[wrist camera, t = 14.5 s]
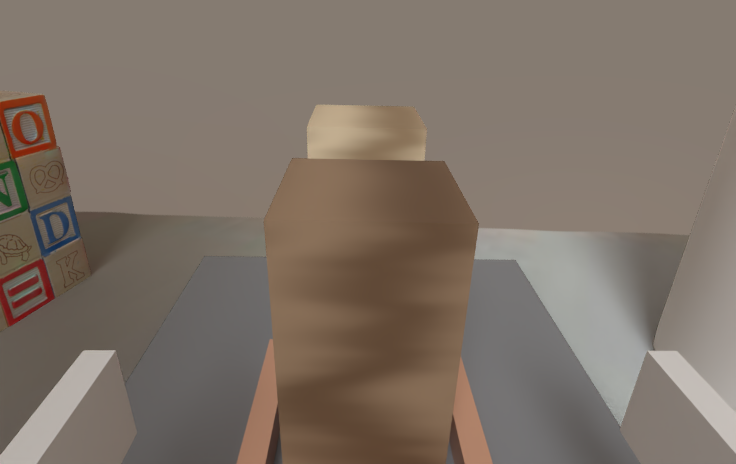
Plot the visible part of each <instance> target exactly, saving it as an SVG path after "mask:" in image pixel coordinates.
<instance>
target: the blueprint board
mask: <svg viewBox="0 0 736 464" xmlns="http://www.w3.org/2000/svg"><path fill="white" fill-rule="evenodd" d="M125 387H126V391H127V395H128V399H129V403H130V407H131V411H132V415H133V418H134V422H135V426H136V430H137V434H136V436H135V438H134V440H133V442H132V444H131V446H130V447H129V449H128V451H127V453H126V455H125V457H124V459H123V461H122V463H121V464H283V463H282V450H281V437H280V424H279V411H278V398H277V385H276V372H275V359H274V346H273V333H272V320H271V307H270V294H269V281H268V269H267V257H230V256H204V258H203V260H202V261H201V263H200V264H199V266H198V268H197V269H196V271H195V272H194V274H193V276H192V277H191V279H190V280H189V282H188V284H187V285H186V287H185V289H184V290H183V292H182V293H181V295H180V297H179V298H178V300H177V301H176V303H175V305H174V306H173V308H172V309H171V311H170V313H169V314H168V316H167V317H166V319H165V321H164V322H163V324H162V326H161V327H160V329H159V330H158V332H157V334H156V335H155V337H154V338H153V340H152V342H151V343H150V345H149V346H148V348H147V350H146V351H145V353H144V354H143V356H142V358H141V359H140V361H139V363H138V364H137V366H136V367H135V369H134V371H133V372H132V374H131V375H130V377H129V379H128V380H127V382H126V383H125ZM446 464H641V463H640V462H639V460H638V459H637V457H636V455H635V454H634V452H633V451H632V449H631V448H630V446H629V444H628V443H627V441H626V440H625V438H624V436H623V435H622V433H621V432H620V426H619V424H618V422H617V421H616V419H615V418H614V416H613V414H612V413H611V411H610V410H609V408H608V407H607V405H606V403H605V402H604V400H603V399H602V397H601V395H600V394H599V392H598V391H597V389H596V387H595V386H594V384H593V383H592V381H591V379H590V378H589V376H588V375H587V373H586V372H585V370H584V368H583V367H582V365H581V364H580V362H579V360H578V359H577V357H576V356H575V354H574V352H573V351H572V349H571V348H570V346H569V344H568V343H567V341H566V340H565V338H564V337H563V335H562V333H561V332H560V330H559V329H558V327H557V325H556V324H555V322H554V321H553V319H552V317H551V316H550V314H549V313H548V311H547V309H546V308H545V306H544V305H543V303H542V301H541V300H540V298H539V297H538V295H537V294H536V292H535V290H534V289H533V287H532V286H531V284H530V282H529V281H528V279H527V278H526V276H525V274H524V273H523V271H522V270H521V268H520V266H519V265H518V263H517V262H516V260H474V263H473V270H472V277H471V285H470V292H469V299H468V306H467V314H466V321H465V328H464V335H463V343H462V350H461V357H460V364H459V372H458V379H457V386H456V393H455V401H454V408H453V415H452V422H451V430H450V437H449V444H448V451H447V459H446Z"/></svg>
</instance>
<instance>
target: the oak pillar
mask: <svg viewBox="0 0 736 464" xmlns="http://www.w3.org/2000/svg"><path fill="white" fill-rule="evenodd" d="M426 133H427V129H426V127H425V125H424V123H423V122H422V120H421V118H420V117H419V115H418V113H417V111H416V110H415V108H414V107H403V106H401V107H400V106H356V105H316V107H315V109H314V112H313V114H312V116H311V118H310V121H309V123H308V125H307V144H308V145H307V146H308V159H359V160H411V161H424V158H425V144H426Z"/></svg>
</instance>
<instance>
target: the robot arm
mask: <svg viewBox="0 0 736 464" xmlns="http://www.w3.org/2000/svg"><path fill="white" fill-rule="evenodd" d="M620 432H621V433H622V435H623V436H624V438H625V440H626V441H627V443H628V444H629V446H630V448H631V449H632V451H633V452H634V454H635V455H636V457H637V459H638V460H639V462H640V463H641V464H736V413H735V412H734V411H733V409H732V408H731V407H730V406H729V405H728V404H727V403H726V402H725V401H724V400H723V399H722V398H721V397H720V396H719V395H718V394H717V393H716V392H715V390H714V389H713V388H712V387H711V386H710V385H709V384H708V383H707V382H706V381H705V380H704V379H703V378H702V377H701V376H700V375H699V374H698V373H697V371H696V370H695V369H694V368H693V367H692V366H691V365H690V364H689V363H688V362H687V361H686V360H685V359H684V358H683V357H682V356H681V355H680V354H679V352H678V351H647V353H646V356H645V358H644V361H643V364H642V367H641V370H640V373H639V376H638V379H637V381H636V384H635V387H634V390H633V393H632V396H631V399H630V401H629V404H628V407H627V410H626V413H625V416H624V419H623V421H622V424H621V427H620ZM136 434H137V430H136V426H135V422H134V418H133V415H132V411H131V407H130V403H129V399H128V395H127V391H126V387H125V384H124V380H123V376H122V372H121V368H120V364H119V360H118V356H117V353H116V350H83V352H82V353H81V354H80V355H79V357H78V358H77V359H76V360H75V362H74V363H73V364H72V365H71V367H70V368H69V369H68V371H67V372H66V373H65V374H64V376H63V377H62V378H61V379H60V381H59V382H58V383H57V384H56V386H55V387H54V388H53V389H52V391H51V392H50V393H49V394H48V396H47V397H46V398H45V400H44V401H43V402H42V403H41V405H40V406H39V407H38V408H37V410H36V411H35V412H34V413H33V415H32V416H31V417H30V418H29V420H28V421H27V422H26V423H25V425H24V426H23V427H22V429H21V430H20V431H19V432H18V434H17V435H16V436H15V437H14V439H13V440H12V441H11V442H10V444H9V445H8V446H7V447H6V449H5V450H4V451H3V452H2V454H1V455H0V464H121V463H122V461H123V459H124V457H125V455H126V453H127V451H128V449H129V447H130V446H131V444H132V442H133V440H134V438H135V436H136Z"/></svg>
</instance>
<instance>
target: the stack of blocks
mask: <svg viewBox="0 0 736 464" xmlns="http://www.w3.org/2000/svg"><path fill="white" fill-rule="evenodd" d="M70 192H71V190H70V186H69V182H68V177H67V174H66V169H65V166H64V162H63V158H62V154H61V150H60V147H59V146H56V139H55V135H54V131H53V127H52V123H51V119H50V115H49V110H48V106H47V103H46V99H45V96H44V95H43V94H34V93H23V92H12V91H0V332H1V331H2V330H4V329H5V328H7V327H9V326H12V325H13V324H15V323H16V322H18V321H20V320H21V319H23V318H24V317H26V316H27V315H29V314H31V313H32V312H34V311H35V310H37V309H39V308H40V307H42V306H43V305H45V304H46V303H48V302H50V301H51V300H53V299H54V298H56V297H58V296H60V295H61V294H63V293H64V292H66V291H68V290H69V289H71V288H72V287H74V286H76V285H77V284H79V283H80V282H82V281H83V280H85V279H87V278H88V277H90V276H91V271H90V267H89V263H88V260H87V256H86V251H85V247H84V243H83V240H82V237H80V231H79V226H78V222H77V219H76V215H75V211H74V206H73V202H72V198H71V195H70Z"/></svg>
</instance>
